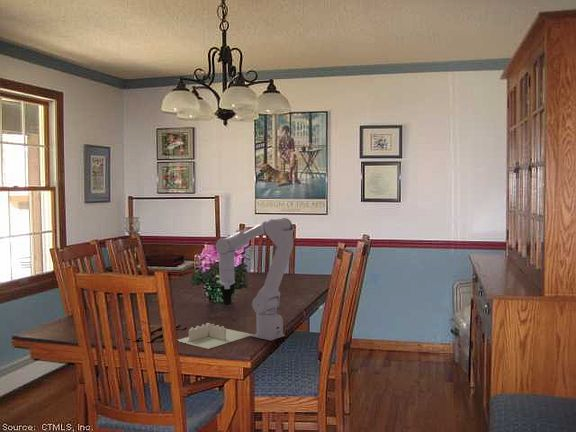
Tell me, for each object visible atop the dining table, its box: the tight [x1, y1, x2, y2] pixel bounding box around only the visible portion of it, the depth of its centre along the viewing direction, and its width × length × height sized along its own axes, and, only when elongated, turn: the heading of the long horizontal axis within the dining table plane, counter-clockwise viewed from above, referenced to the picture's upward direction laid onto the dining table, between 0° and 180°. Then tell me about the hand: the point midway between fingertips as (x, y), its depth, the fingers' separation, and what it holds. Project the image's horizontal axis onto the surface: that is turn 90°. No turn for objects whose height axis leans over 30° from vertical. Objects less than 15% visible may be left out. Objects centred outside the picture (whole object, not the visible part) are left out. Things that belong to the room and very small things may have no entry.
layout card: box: [177, 328, 255, 350], centre depth 211 cm, size 17×23×1 cm
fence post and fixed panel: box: [188, 322, 211, 341], centre depth 210 cm, size 2×10×5 cm, turn 141°
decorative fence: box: [137, 323, 188, 343], centre depth 218 cm, size 23×2×15 cm
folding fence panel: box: [210, 323, 227, 340], centre depth 209 cm, size 8×1×5 cm, turn 48°
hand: (227, 304), depth 222 cm, fingers closed
